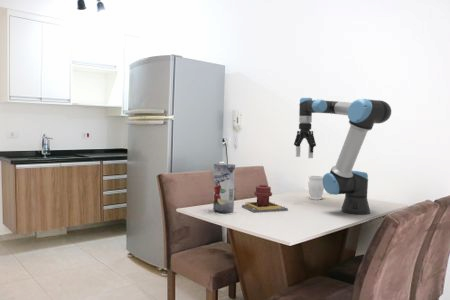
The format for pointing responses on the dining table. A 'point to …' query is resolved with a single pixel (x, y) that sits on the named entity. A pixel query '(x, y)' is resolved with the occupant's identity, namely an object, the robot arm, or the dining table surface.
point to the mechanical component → (263, 195)
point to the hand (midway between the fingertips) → (304, 157)
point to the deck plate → (270, 208)
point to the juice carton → (224, 187)
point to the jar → (315, 187)
